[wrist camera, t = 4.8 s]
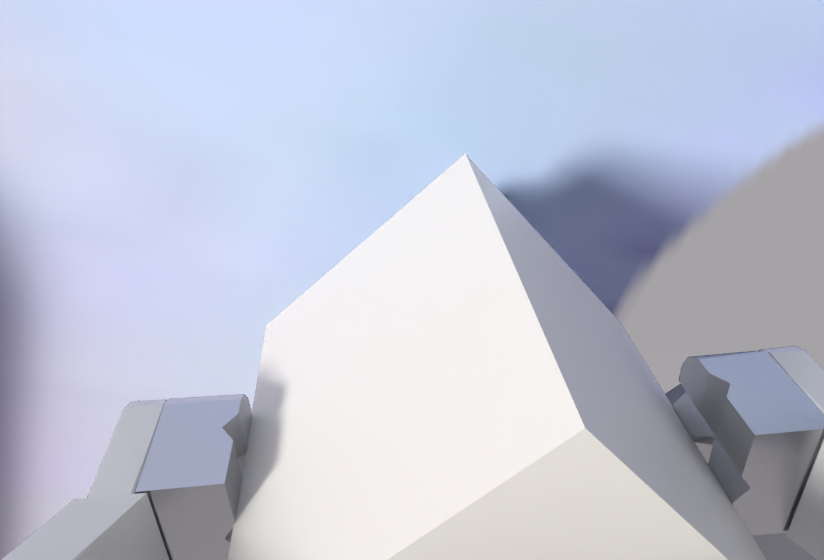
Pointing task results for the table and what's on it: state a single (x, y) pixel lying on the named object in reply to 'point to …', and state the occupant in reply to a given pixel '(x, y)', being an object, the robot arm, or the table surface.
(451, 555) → the plug
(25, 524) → the table surface
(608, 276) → the table surface
